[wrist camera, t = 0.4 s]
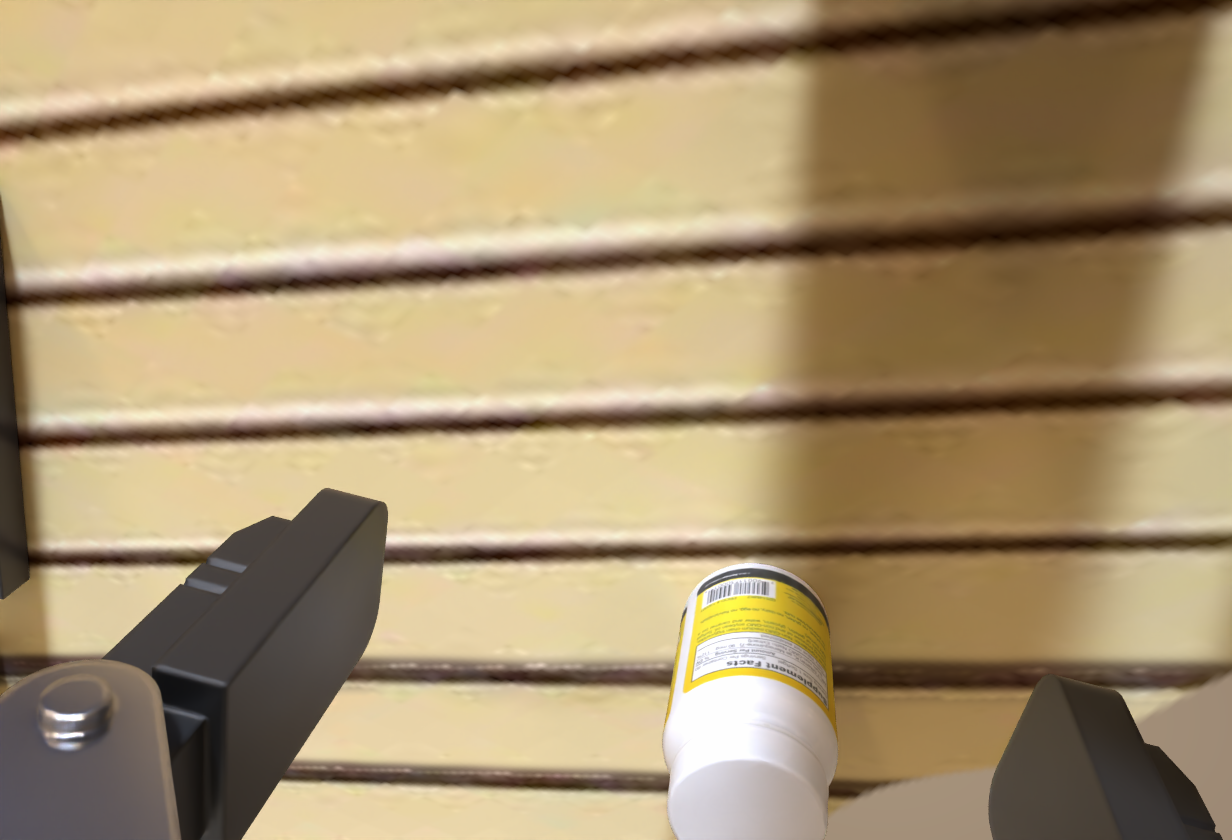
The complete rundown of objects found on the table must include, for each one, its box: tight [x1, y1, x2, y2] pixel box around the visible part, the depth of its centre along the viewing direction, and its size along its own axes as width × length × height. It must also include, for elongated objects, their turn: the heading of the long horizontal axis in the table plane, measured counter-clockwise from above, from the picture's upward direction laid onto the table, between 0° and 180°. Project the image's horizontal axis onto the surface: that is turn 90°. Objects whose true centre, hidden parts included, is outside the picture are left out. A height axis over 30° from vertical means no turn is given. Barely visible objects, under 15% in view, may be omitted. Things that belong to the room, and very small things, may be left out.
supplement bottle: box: [662, 563, 838, 840], centre depth 27 cm, size 5×5×8 cm
